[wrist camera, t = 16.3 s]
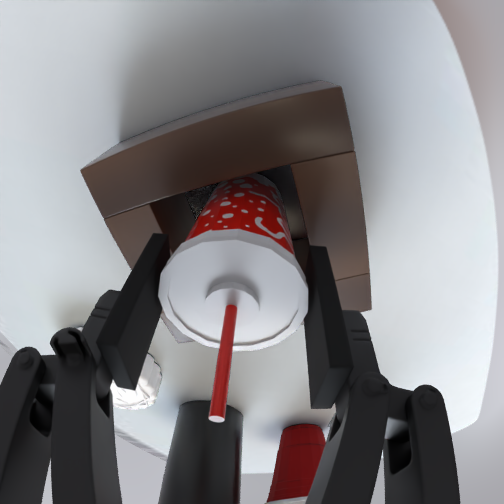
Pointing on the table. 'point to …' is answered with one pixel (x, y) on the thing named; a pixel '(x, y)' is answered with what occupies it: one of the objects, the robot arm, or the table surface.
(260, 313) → the beverage cup
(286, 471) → the plastic cup
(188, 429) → the water bottle
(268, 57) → the table surface
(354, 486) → the robot arm
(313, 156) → the holder
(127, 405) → the mooncake
